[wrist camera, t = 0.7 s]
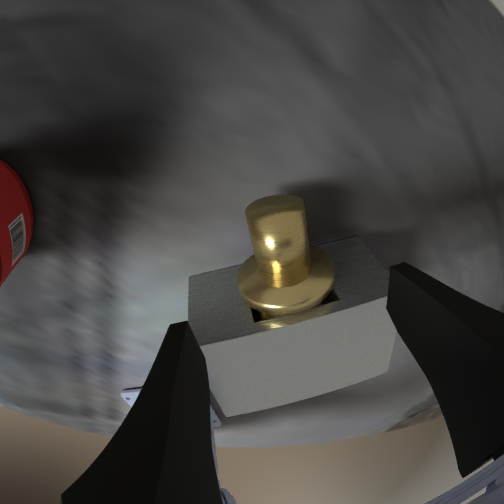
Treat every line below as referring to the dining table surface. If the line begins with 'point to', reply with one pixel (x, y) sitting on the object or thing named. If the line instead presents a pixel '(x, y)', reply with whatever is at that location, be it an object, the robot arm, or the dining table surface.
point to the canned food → (13, 220)
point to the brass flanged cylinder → (283, 260)
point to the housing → (293, 335)
